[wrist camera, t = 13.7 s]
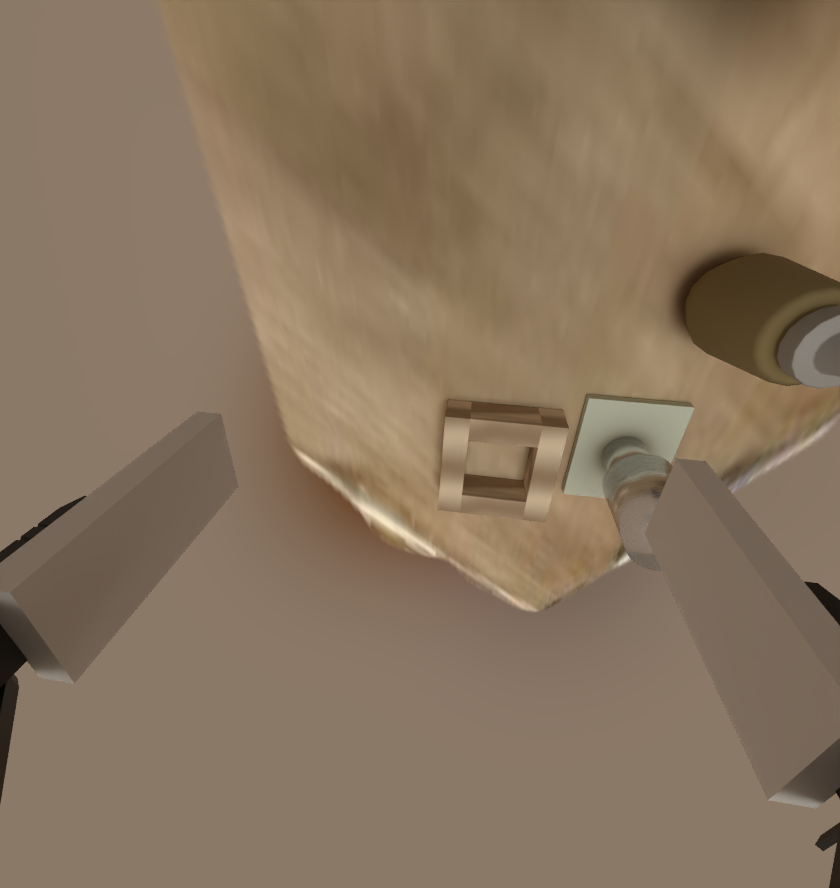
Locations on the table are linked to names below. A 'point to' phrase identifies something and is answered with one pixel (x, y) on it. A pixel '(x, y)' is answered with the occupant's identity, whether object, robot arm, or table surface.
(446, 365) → the table surface
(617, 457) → the metal cylinder
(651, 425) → the mat
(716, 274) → the squeeze bottle
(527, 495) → the bore block
